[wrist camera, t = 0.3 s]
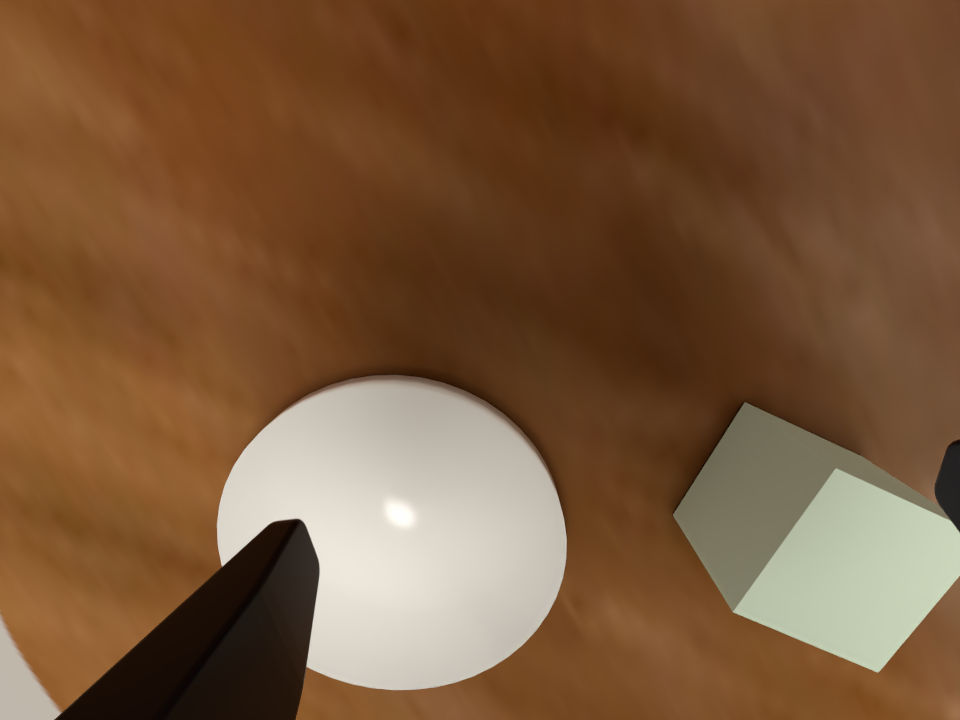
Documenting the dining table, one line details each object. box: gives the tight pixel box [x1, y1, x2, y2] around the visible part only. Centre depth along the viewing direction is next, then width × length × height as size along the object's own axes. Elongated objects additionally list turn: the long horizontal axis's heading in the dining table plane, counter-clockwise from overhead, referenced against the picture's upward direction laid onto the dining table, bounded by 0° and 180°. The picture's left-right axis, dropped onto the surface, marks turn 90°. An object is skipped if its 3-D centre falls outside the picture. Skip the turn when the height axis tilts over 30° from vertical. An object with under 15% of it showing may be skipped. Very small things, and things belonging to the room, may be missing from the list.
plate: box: [217, 375, 567, 690], centre depth 23 cm, size 15×15×2 cm
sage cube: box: [673, 402, 960, 672], centre depth 20 cm, size 6×6×6 cm
